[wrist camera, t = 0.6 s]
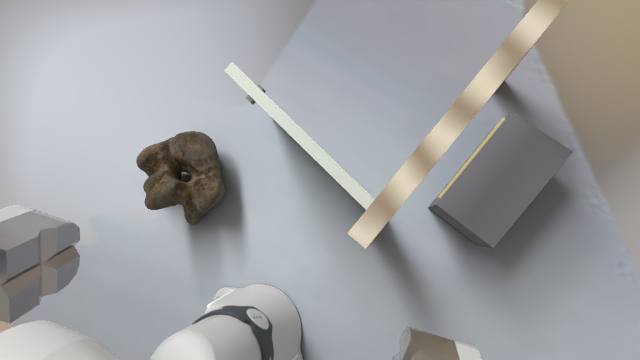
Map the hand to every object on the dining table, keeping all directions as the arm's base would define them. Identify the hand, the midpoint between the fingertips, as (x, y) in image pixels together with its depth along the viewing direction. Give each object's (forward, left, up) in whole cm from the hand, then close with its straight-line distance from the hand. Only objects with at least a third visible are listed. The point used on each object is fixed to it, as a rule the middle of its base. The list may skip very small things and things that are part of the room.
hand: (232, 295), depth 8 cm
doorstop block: (+18, -9, -50) cm, 54 cm away
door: (+6, +13, -49) cm, 51 cm away
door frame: (+18, 0, -50) cm, 53 cm away
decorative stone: (-11, +30, -50) cm, 59 cm away
